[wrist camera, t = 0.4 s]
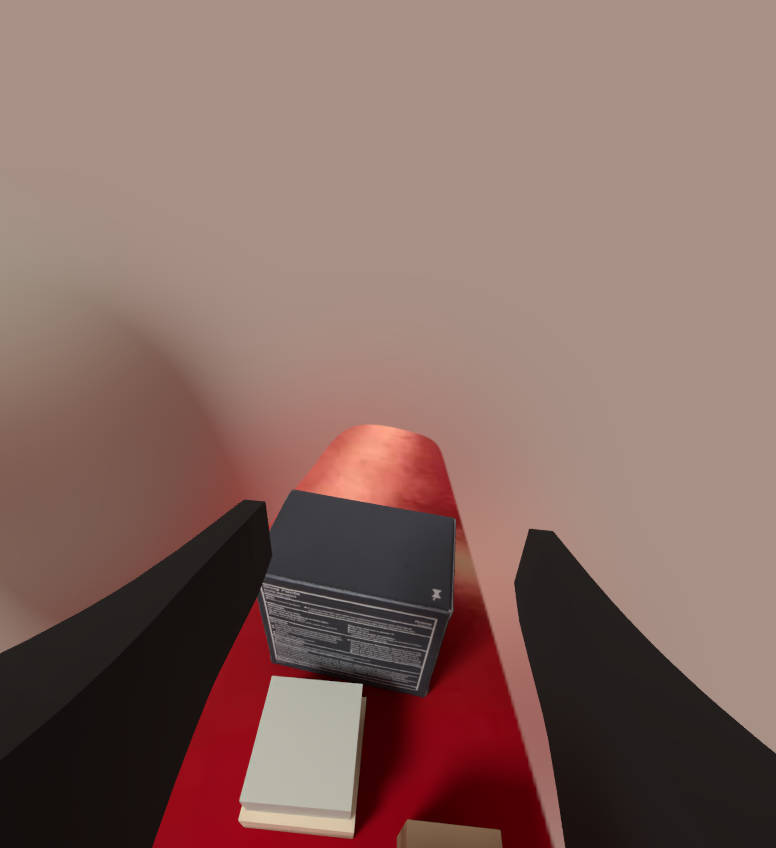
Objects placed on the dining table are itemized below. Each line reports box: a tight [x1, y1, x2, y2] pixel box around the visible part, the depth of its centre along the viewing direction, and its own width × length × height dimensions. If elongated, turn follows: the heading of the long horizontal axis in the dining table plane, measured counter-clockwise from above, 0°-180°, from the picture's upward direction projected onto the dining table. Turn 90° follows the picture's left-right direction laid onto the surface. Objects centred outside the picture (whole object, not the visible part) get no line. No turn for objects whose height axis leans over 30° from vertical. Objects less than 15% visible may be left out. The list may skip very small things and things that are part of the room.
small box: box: [257, 490, 456, 697], centre depth 24 cm, size 11×6×10 cm, turn 80°
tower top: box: [240, 676, 363, 820], centre depth 20 cm, size 5×5×2 cm
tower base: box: [238, 697, 367, 839], centre depth 21 cm, size 6×6×2 cm
